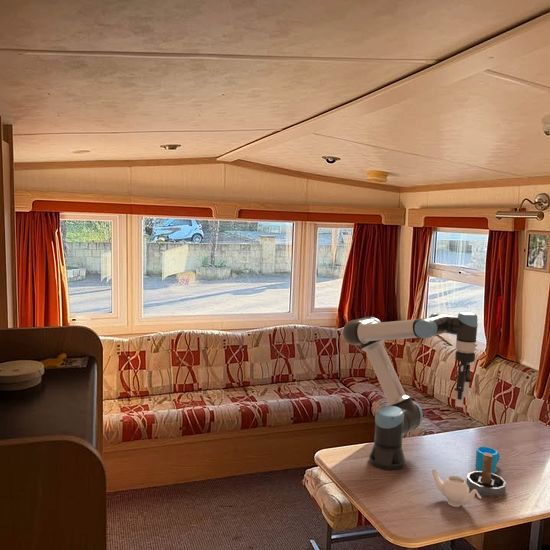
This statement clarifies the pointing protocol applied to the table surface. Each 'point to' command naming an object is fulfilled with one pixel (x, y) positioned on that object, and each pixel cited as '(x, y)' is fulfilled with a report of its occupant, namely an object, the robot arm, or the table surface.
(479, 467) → the mug
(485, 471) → the square wooden stick
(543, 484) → the table surface
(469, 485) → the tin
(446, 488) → the teapot
